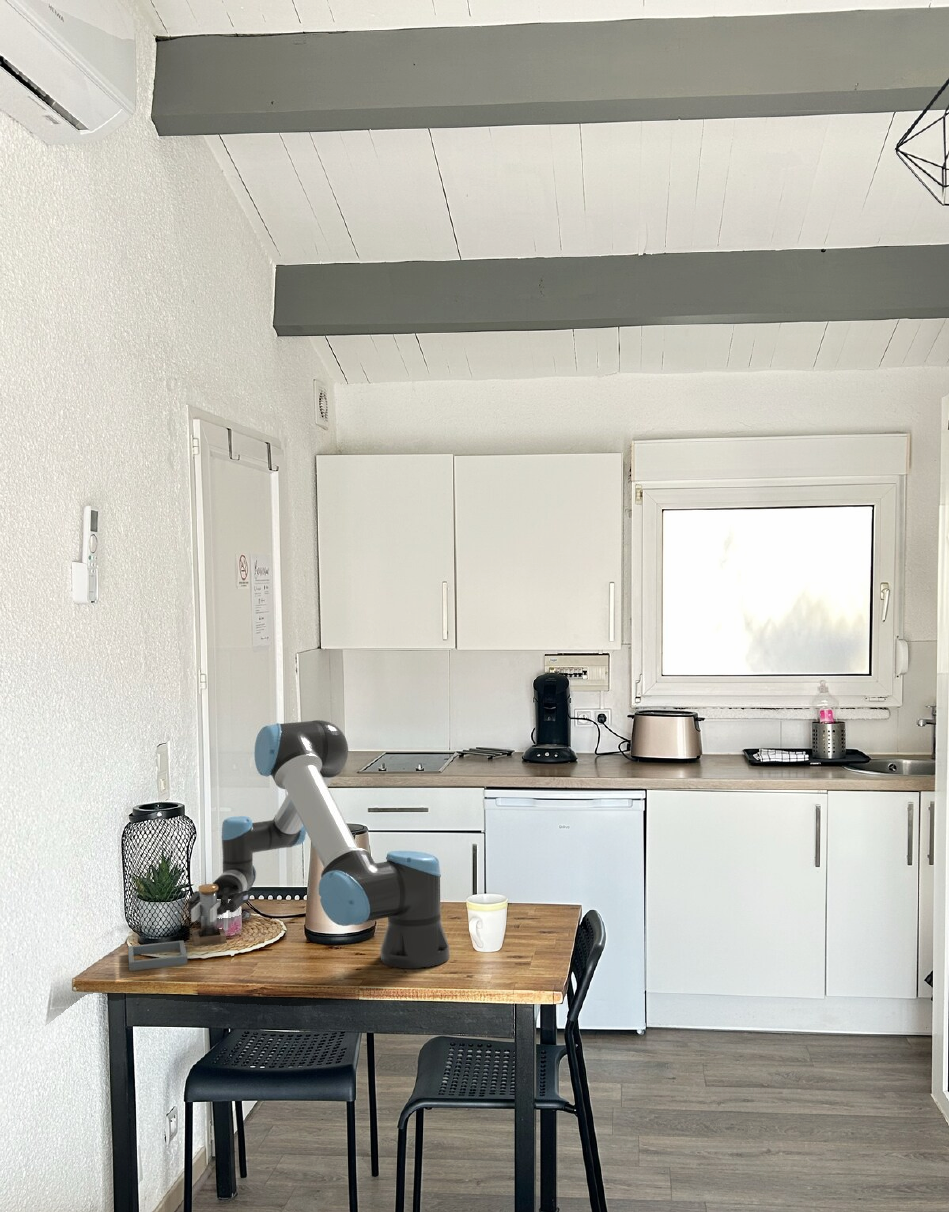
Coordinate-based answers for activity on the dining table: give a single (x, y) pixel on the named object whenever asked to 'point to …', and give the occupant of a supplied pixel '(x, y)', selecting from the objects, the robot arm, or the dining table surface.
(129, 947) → the tray
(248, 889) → the robot arm
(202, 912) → the pin
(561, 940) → the dining table surface
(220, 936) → the socket block
